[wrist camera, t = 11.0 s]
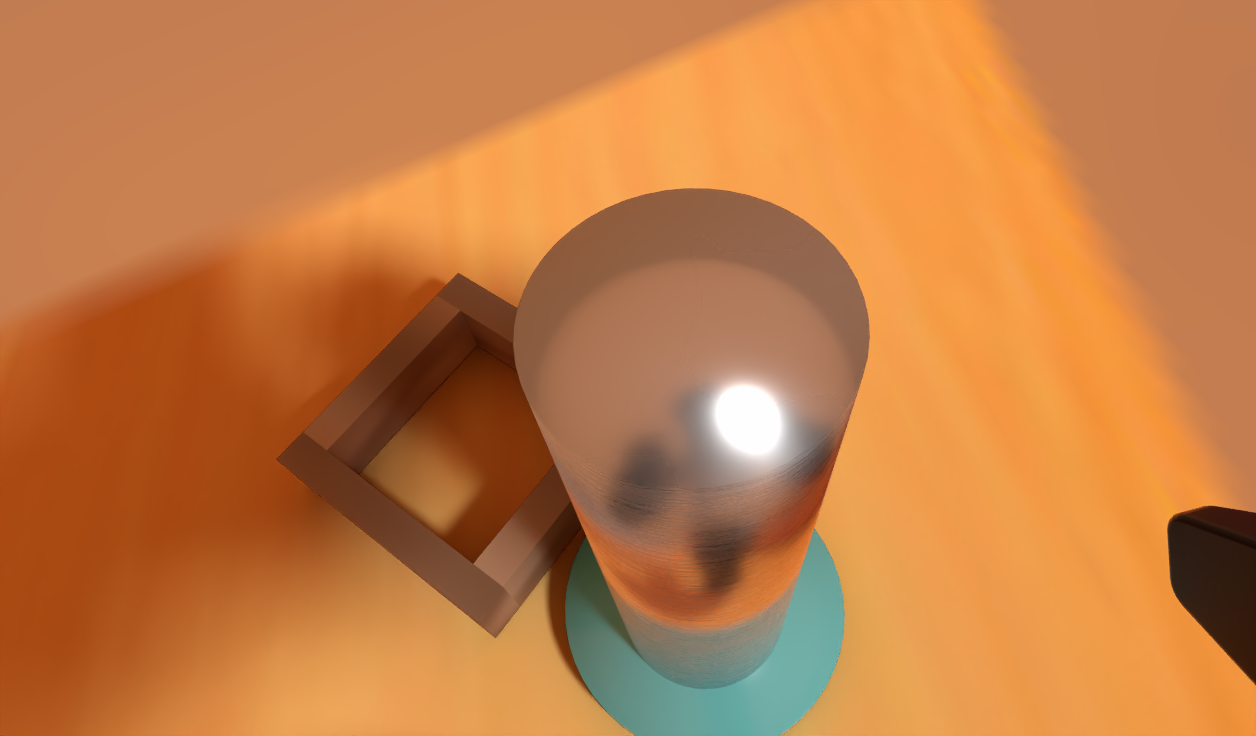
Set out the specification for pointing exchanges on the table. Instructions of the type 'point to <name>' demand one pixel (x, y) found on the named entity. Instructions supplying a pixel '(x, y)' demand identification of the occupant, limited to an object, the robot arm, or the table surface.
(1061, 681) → the table surface
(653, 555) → the peg
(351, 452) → the open brown square box
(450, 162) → the table surface
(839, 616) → the shiny teal dome
